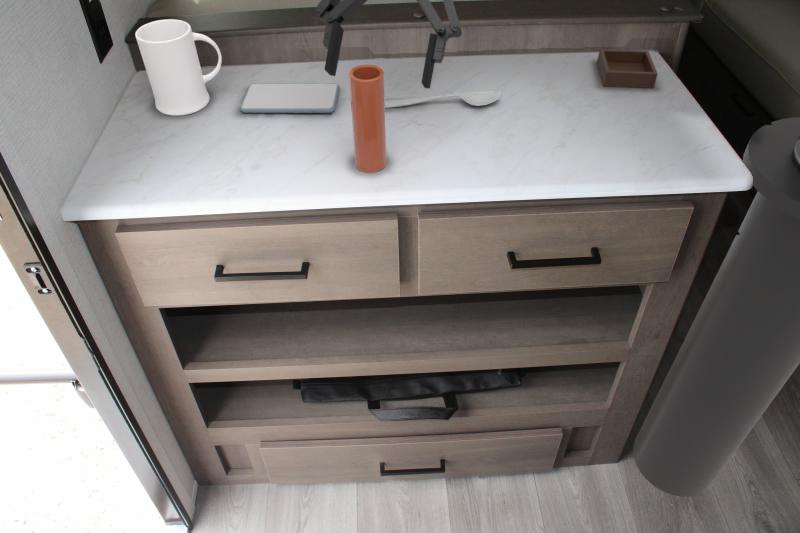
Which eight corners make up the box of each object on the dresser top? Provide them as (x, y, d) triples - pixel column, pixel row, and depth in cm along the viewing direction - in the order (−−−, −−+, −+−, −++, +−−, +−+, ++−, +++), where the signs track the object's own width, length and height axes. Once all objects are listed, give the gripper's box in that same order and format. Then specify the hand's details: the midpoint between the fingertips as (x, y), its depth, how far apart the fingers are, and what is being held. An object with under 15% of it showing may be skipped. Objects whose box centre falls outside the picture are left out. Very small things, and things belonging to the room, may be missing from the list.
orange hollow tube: (387, 155, 92) (385, 65, 82) (384, 173, 88) (381, 82, 79) (357, 153, 92) (351, 64, 82) (353, 172, 89) (346, 80, 79)
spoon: (502, 109, 100) (503, 99, 99) (372, 112, 100) (372, 103, 99) (498, 95, 103) (499, 86, 102) (372, 98, 103) (371, 89, 102)
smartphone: (249, 82, 105) (339, 82, 104) (251, 88, 106) (340, 87, 105) (238, 109, 99) (333, 109, 98) (240, 114, 100) (334, 114, 99)
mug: (227, 83, 107) (212, 12, 98) (232, 108, 101) (216, 36, 93) (155, 93, 105) (133, 22, 96) (156, 119, 99) (132, 46, 90)
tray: (644, 64, 110) (648, 50, 108) (653, 88, 104) (657, 73, 103) (596, 63, 111) (599, 49, 109) (603, 86, 105) (606, 72, 103)
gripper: (498, -54, 87) (469, 98, 87) (327, -69, 92) (300, 76, 92) (495, -85, 79) (464, 82, 80) (310, -99, 84) (281, 58, 85)
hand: (377, 79), depth 86 cm, fingers open, 13 cm apart
